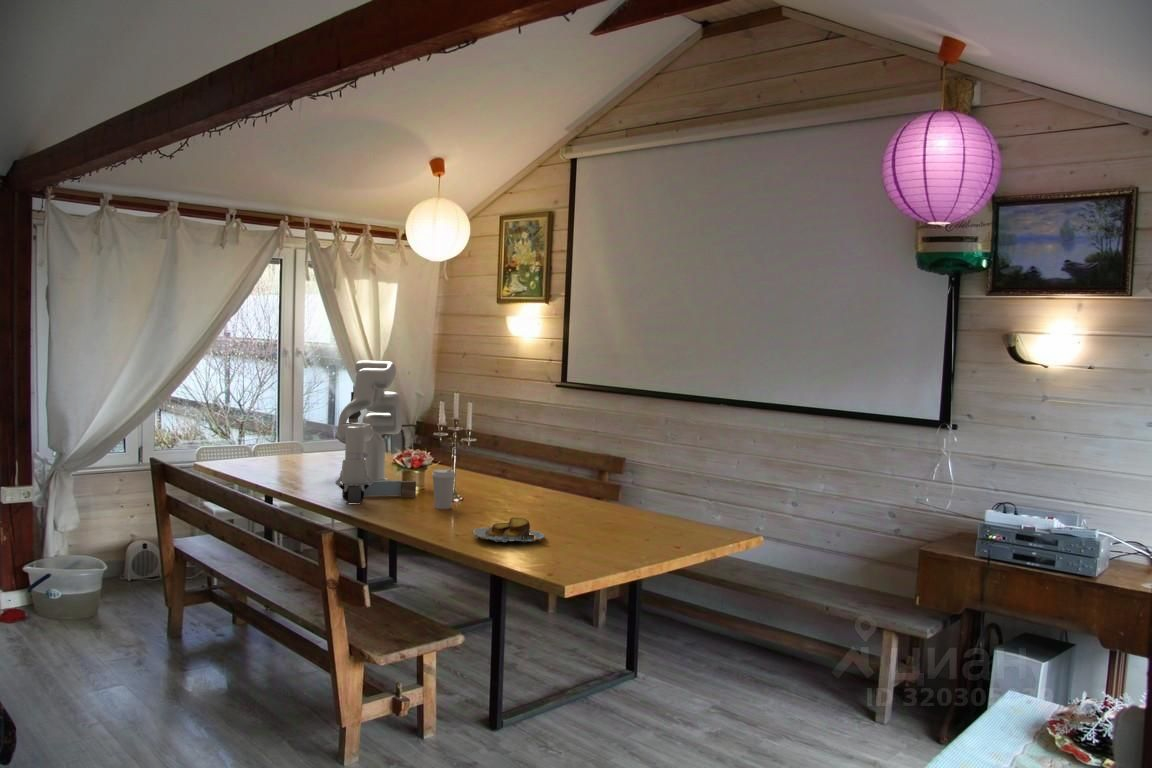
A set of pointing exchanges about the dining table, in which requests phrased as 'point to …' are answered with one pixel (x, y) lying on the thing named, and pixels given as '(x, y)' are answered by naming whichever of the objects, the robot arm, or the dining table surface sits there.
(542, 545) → the dining table surface
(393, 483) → the grey curved plank
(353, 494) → the dark grey block
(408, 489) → the pair of brown blocks
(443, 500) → the coffee cup
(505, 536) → the food on plate
